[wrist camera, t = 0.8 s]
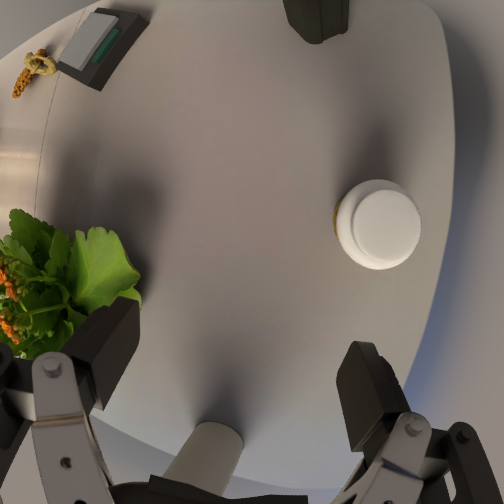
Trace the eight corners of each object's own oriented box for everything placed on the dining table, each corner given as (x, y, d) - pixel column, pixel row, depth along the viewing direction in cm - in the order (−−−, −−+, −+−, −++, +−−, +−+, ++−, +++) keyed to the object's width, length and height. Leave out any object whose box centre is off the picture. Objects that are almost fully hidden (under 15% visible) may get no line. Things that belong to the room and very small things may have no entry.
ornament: (-5, 97, 29) (13, 77, 23) (23, 50, 30) (51, 22, 23) (20, 109, 35) (46, 95, 29) (46, 64, 36) (79, 41, 30)
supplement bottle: (341, 181, 24) (352, 159, 14) (400, 200, 23) (445, 192, 13) (324, 243, 25) (325, 260, 15) (383, 261, 24) (417, 289, 14)
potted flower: (155, 417, 32) (77, 499, 16) (43, 352, 37) (-32, 389, 21) (166, 229, 28) (14, 248, 12) (39, 203, 33) (-61, 207, 17)
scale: (107, 14, 28) (94, 5, 24) (149, 23, 26) (135, 11, 23) (66, 72, 30) (51, 66, 27) (100, 91, 29) (83, 84, 26)
